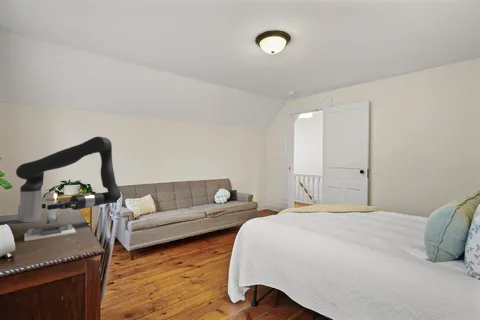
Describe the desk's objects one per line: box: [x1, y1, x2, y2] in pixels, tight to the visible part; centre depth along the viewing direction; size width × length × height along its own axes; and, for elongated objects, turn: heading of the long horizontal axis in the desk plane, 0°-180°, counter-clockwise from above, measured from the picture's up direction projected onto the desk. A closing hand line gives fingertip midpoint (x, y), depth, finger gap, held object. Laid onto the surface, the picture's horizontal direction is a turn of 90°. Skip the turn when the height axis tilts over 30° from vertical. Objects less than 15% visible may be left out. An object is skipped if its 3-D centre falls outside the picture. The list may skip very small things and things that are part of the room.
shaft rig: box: [23, 223, 77, 242], centre depth 118 cm, size 19×11×3 cm, turn 131°
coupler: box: [44, 192, 59, 225], centre depth 118 cm, size 5×5×14 cm
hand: (45, 207), depth 115 cm, fingers closed on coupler, 4 cm apart
